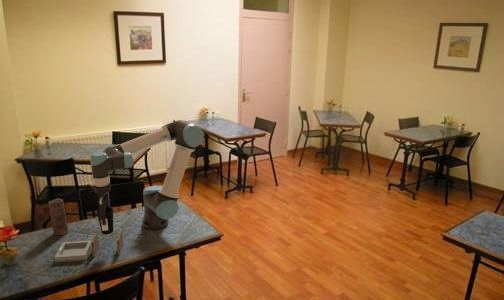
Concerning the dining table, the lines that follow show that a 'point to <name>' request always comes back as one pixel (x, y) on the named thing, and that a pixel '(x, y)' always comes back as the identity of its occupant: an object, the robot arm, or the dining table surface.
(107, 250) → the dining table surface
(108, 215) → the cup
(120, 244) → the beige holder
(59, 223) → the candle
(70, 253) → the dock
